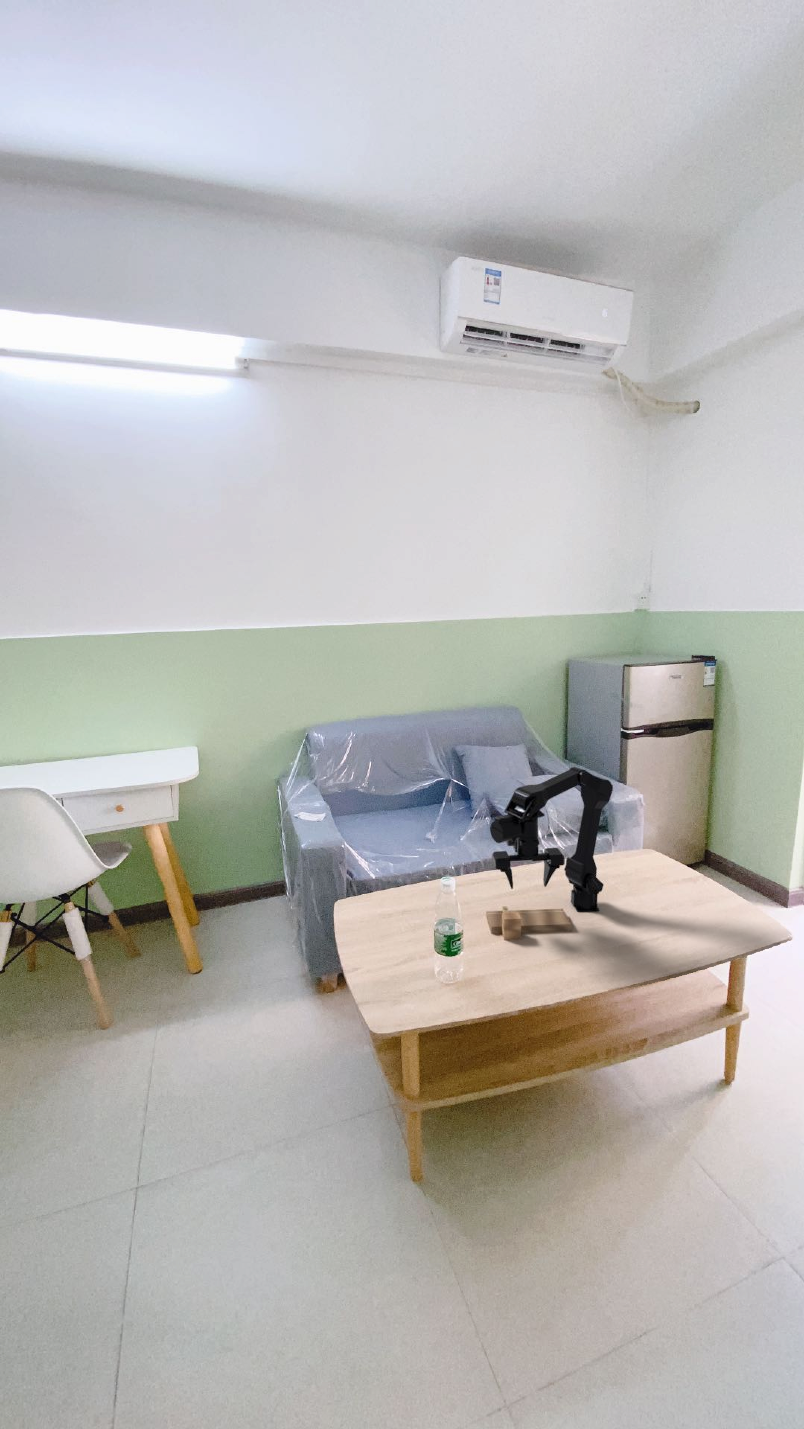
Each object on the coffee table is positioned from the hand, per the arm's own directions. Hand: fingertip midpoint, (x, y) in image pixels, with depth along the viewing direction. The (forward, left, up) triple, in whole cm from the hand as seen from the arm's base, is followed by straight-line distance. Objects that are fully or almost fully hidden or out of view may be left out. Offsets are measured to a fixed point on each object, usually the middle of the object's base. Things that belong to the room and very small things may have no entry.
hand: (528, 887), depth 149 cm
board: (0, -1, -11) cm, 11 cm away
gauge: (+6, +1, -12) cm, 13 cm away
